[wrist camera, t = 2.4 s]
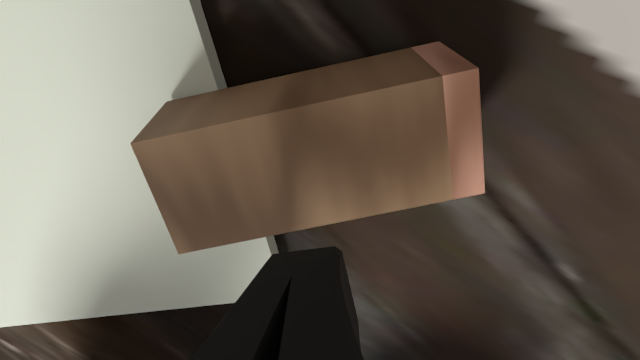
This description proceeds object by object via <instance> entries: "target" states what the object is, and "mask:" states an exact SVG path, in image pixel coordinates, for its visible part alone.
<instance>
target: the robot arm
mask: <svg viewBox="0 0 640 360" xmlns="http://www.w3.org/2000/svg"><path fill="white" fill-rule="evenodd" d="M189 360H364V359H363V356H362V354H361V348H360V339H359V326H358V319H357V314H356V310H355V306H354V302H353V297H352V293H351V289H350V284H349V280H348V276H347V272H346V267H345V263H344V259H343V255H342V251H341V250H339V249H338V248H336V247H335V246H334V247H326V248H318V249H309V250H301V251H293V252H285V253H277V254H272V255H271V257H270V258H269V259H268V260H267V262H266V263H265V264H264V266H263V267H262V268H261V269H260V271H259V272H258V273H257V275H256V276H255V277H254V279H253V280H252V281H251V282H250V284H249V285H248V286H247V288H246V289H245V290H244V292H243V293H242V294H241V296H240V297H239V298H238V300H237V301H236V302H235V304H234V305H233V306H232V307H231V309H230V310H229V311H228V312H227V314H226V315H225V316H224V318H223V319H222V320H221V321H220V323H219V324H218V325H217V326H216V328H215V329H214V330H213V331H212V333H211V334H210V335H209V336H208V338H207V339H206V340H205V341H204V342H203V344H202V345H201V346H200V347H199V348H198V349H197V351H196V352H195V353H194V354H193V355H192V356H191V357H190V359H189Z"/></svg>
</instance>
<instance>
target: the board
mask: <svg viewBox="0 0 640 360" xmlns="http://www.w3.org/2000/svg"><path fill="white" fill-rule="evenodd" d="M225 88H227V85H226V82H225V79H224V76H223V73H222V69H221V66H220V63H219V60H218V57H217V53H216V50H215V47H214V44H213V41H212V37H211V34H210V31H209V28H208V25H207V21H206V18H205V15H204V12H203V9H202V6H201V2H200V0H0V327H8V326H18V325H27V324H37V323H46V322H56V321H66V320H75V319H85V318H94V317H104V316H113V315H123V314H133V313H142V312H152V311H161V310H171V309H180V308H190V307H199V306H209V305H219V304H228V303H235V302H236V301H237V300H238V298H239V297H240V296H241V294H242V293H243V292H244V290H245V289H246V288H247V286H248V285H249V284H250V282H251V281H252V280H253V279H254V277H255V276H256V275H257V273H258V272H259V271H260V269H261V268H262V267H263V266H264V264H265V263H266V262H267V260H268V259H269V258H270V257H271V255H272V254H277V253H279V252H278V248H277V245H276V242H275V239H274V236H268V237H263V238H258V239H253V240H248V241H243V242H238V243H233V244H228V245H223V246H218V247H213V248H208V249H203V250H198V251H193V252H188V253H183V254H178V252H177V250H176V247H175V245H174V243H173V240H172V238H171V236H170V234H169V231H168V229H167V227H166V224H165V222H164V220H163V218H162V215H161V213H160V211H159V208H158V206H157V204H156V202H155V199H154V197H153V195H152V192H151V190H150V188H149V186H148V183H147V181H146V179H145V176H144V174H143V172H142V170H141V167H140V165H139V163H138V160H137V158H136V156H135V154H134V151H133V149H132V147H131V144H130V143H131V142H132V141H133V140H134V138H135V137H136V136H137V135H138V134H139V133H140V132H141V130H142V129H143V128H144V127H145V126H146V125H147V123H148V122H149V121H150V120H151V119H152V118H153V117H154V115H155V114H156V113H157V112H158V111H159V110H160V108H161V107H162V106H163V105H164V104H165V103H166V102H167V101H171V100H176V99H180V98H185V97H189V96H194V95H198V94H203V93H207V92H212V91H216V90H221V89H225Z"/></svg>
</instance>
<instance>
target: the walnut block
mask: <svg viewBox="0 0 640 360" xmlns="http://www.w3.org/2000/svg"><path fill="white" fill-rule="evenodd" d="M130 144H131V147H132V149H133V151H134V154H135V156H136V158H137V160H138V163H139V165H140V167H141V170H142V172H143V174H144V176H145V179H146V181H147V183H148V186H149V188H150V190H151V192H152V195H153V197H154V199H155V202H156V204H157V206H158V208H159V211H160V213H161V215H162V218H163V220H164V222H165V224H166V227H167V229H168V231H169V234H170V236H171V238H172V240H173V243H174V245H175V247H176V250H177V252H178V254H183V253H188V252H193V251H198V250H203V249H208V248H213V247H218V246H223V245H228V244H233V243H238V242H243V241H248V240H253V239H258V238H263V237H268V236H273V235H278V234H283V233H288V232H293V231H298V230H303V229H308V228H313V227H318V226H323V225H328V224H333V223H338V222H343V221H348V220H353V219H358V218H363V217H368V216H373V215H378V214H383V213H388V212H393V211H398V210H403V209H408V208H413V207H418V206H423V205H428V204H433V203H438V202H443V201H448V200H453V199H458V198H463V197H468V196H473V195H478V194H483V193H485V183H484V163H483V143H482V123H481V103H480V83H479V68H478V67H476V66H475V65H473V64H472V63H471V62H469V61H468V60H466V59H465V58H463V57H462V56H460V55H459V54H457V53H456V52H454V51H453V50H451V49H450V48H448V47H447V46H445V45H444V44H442V43H441V42H439V41H438V42H433V43H429V44H424V45H420V46H415V47H411V48H406V49H402V50H397V51H393V52H388V53H383V54H379V55H374V56H370V57H365V58H361V59H356V60H352V61H347V62H343V63H338V64H334V65H329V66H325V67H320V68H316V69H311V70H307V71H302V72H298V73H293V74H289V75H284V76H279V77H275V78H270V79H266V80H261V81H257V82H252V83H248V84H243V85H239V86H234V87H230V88H225V89H221V90H216V91H212V92H207V93H203V94H198V95H194V96H189V97H185V98H180V99H176V100H171V101H167V102H166V103H165V104H164V105H163V106H162V107H161V108H160V110H159V111H158V112H157V113H156V114H155V115H154V117H153V118H152V119H151V120H150V121H149V122H148V123H147V125H146V126H145V127H144V128H143V129H142V130H141V132H140V133H139V134H138V135H137V136H136V137H135V138H134V140H133V141H132V142H131V143H130Z"/></svg>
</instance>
